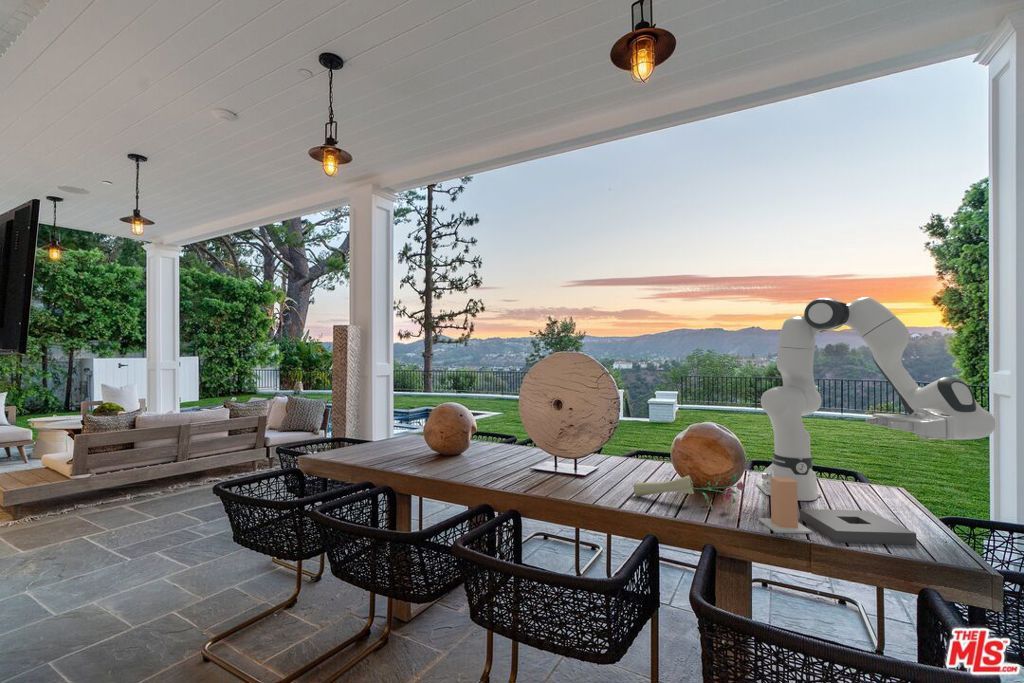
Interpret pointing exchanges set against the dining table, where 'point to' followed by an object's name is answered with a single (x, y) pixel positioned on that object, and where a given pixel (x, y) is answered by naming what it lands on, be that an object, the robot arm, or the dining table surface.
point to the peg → (784, 502)
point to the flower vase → (681, 488)
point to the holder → (857, 527)
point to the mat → (784, 529)
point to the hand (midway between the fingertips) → (878, 423)
